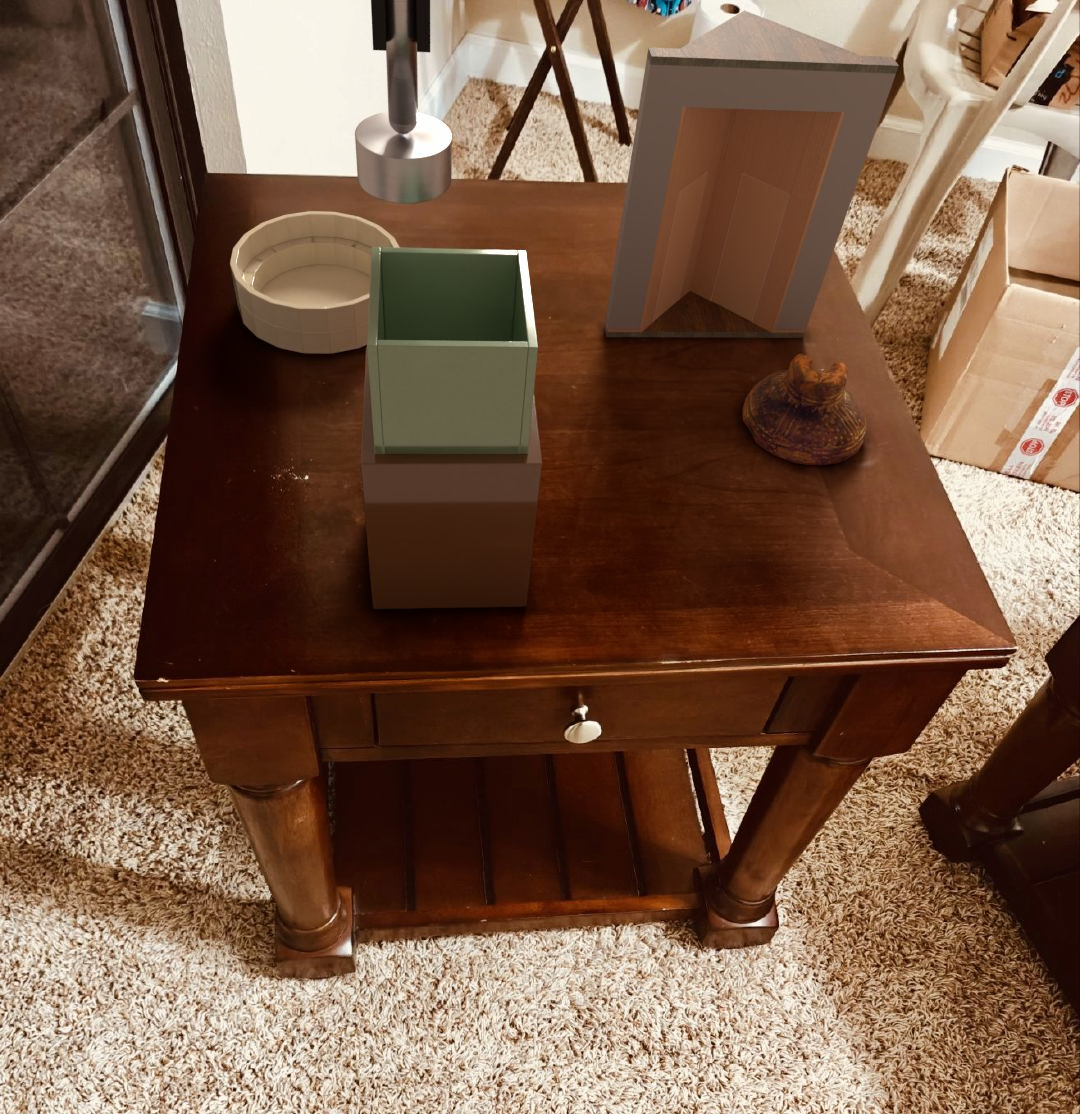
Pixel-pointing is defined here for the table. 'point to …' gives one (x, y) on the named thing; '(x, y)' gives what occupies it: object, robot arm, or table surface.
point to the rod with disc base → (403, 126)
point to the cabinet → (741, 180)
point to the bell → (806, 414)
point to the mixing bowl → (307, 280)
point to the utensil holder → (450, 428)
